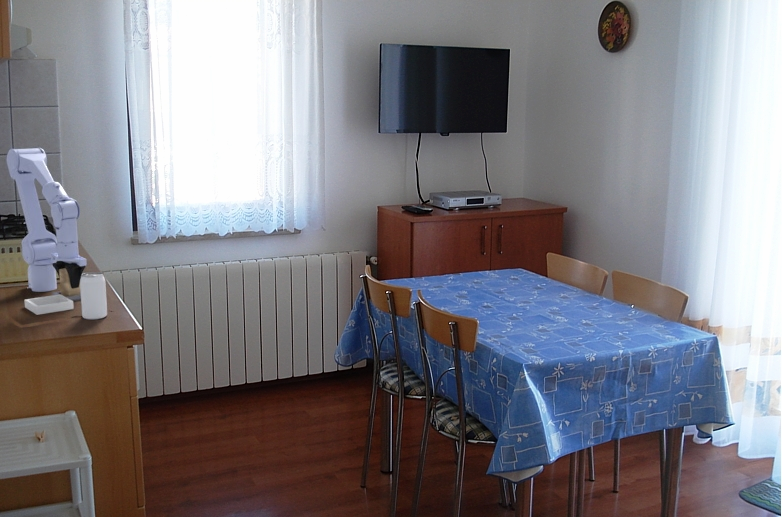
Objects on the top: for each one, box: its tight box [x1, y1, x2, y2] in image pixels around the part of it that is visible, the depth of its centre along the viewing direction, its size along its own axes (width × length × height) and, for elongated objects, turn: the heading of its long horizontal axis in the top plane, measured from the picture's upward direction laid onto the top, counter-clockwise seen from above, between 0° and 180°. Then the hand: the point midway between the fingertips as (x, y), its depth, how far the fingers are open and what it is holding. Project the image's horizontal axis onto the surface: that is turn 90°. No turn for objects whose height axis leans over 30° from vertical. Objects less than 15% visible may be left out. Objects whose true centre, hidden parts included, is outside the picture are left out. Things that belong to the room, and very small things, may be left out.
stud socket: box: [51, 290, 81, 302], centre depth 237 cm, size 9×9×2 cm
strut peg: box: [59, 268, 81, 296], centre depth 236 cm, size 4×4×8 cm
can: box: [80, 271, 108, 321], centre depth 219 cm, size 6×6×12 cm
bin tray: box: [24, 294, 75, 315], centre depth 225 cm, size 10×10×3 cm
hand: (70, 286), depth 236 cm, fingers closed on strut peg, 4 cm apart
